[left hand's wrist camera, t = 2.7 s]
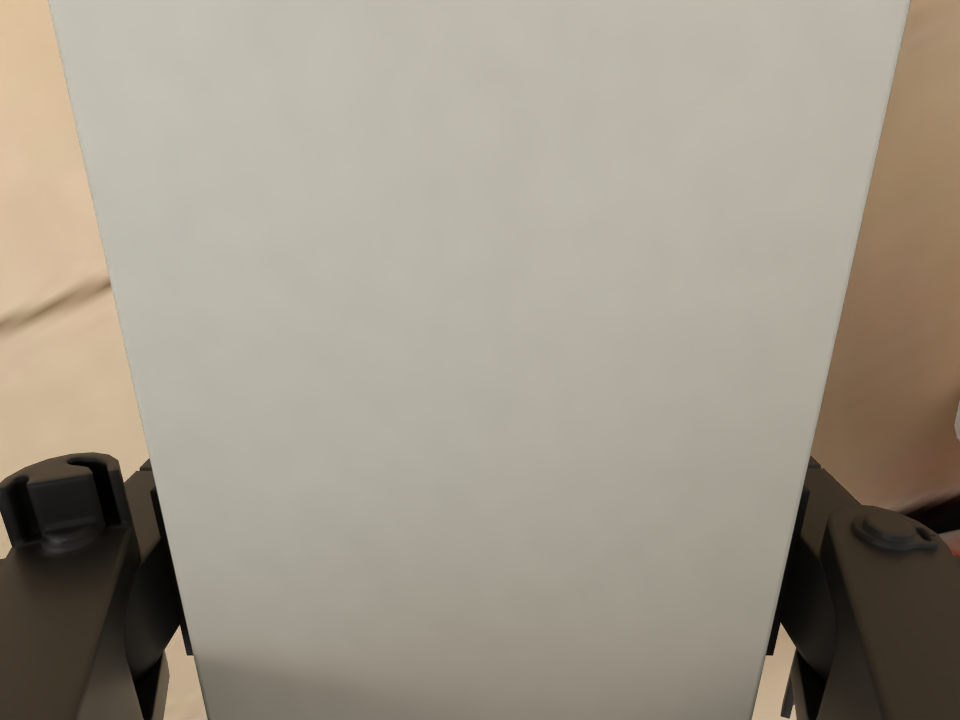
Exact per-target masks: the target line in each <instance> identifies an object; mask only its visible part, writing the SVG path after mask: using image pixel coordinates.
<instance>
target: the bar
mask: <svg viewBox="0 0 960 720" xmlns="http://www.w3.org/2000/svg"><path fill="white" fill-rule="evenodd" d="M48 2H49V7H50V11H51V16H52V20H53V25H54V29H55V34H56V38H57V43H58V47H59V52H60V56H61V61H62V65H63V70H64V74H65V79H66V83H67V88H68V92H69V97H70V101H71V106H72V110H73V115H74V119H75V124H76V128H77V133H78V137H79V142H80V146H81V151H82V155H83V160H84V164H85V169H86V173H87V178H88V182H89V187H90V191H91V196H92V200H93V205H94V209H95V214H96V218H97V223H98V227H99V232H100V236H101V241H102V245H103V250H104V254H105V259H106V263H107V268H108V272H109V277H110V281H111V286H112V290H113V295H114V299H115V304H116V308H117V313H118V317H119V322H120V326H121V331H122V335H123V340H124V344H125V349H126V353H127V358H128V362H129V367H130V371H131V376H132V380H133V385H134V389H135V394H136V398H137V403H138V407H139V412H140V416H141V421H142V425H143V430H144V434H145V439H146V443H147V448H148V452H149V457H150V461H151V466H152V470H153V475H154V479H155V484H156V488H157V493H158V497H159V502H160V506H161V511H162V515H163V520H164V524H165V529H166V533H167V538H168V542H169V547H170V551H171V556H172V560H173V565H174V569H175V574H176V578H177V583H178V587H179V592H180V596H181V601H182V605H183V610H184V614H185V619H186V623H187V628H188V632H189V637H190V641H191V646H192V650H193V655H194V659H195V664H196V668H197V673H198V677H199V682H200V686H201V691H202V695H203V700H204V704H205V709H206V713H207V718H208V720H751V719H752V715H753V710H754V706H755V701H756V697H757V692H758V688H759V683H760V679H761V674H762V670H763V665H764V661H765V656H766V652H767V647H768V643H769V638H770V634H771V629H772V625H773V620H774V615H775V611H776V606H777V602H778V597H779V593H780V588H781V584H782V579H783V575H784V570H785V566H786V561H787V557H788V552H789V548H790V543H791V539H792V534H793V530H794V525H795V521H796V516H797V512H798V507H799V503H800V498H801V494H802V489H803V485H804V480H805V476H806V471H807V467H808V462H809V458H810V453H811V449H812V444H813V439H814V435H815V430H816V426H817V421H818V417H819V412H820V408H821V403H822V399H823V394H824V390H825V385H826V381H827V376H828V372H829V367H830V363H831V358H832V354H833V349H834V345H835V340H836V336H837V331H838V327H839V322H840V318H841V313H842V309H843V304H844V300H845V295H846V291H847V286H848V282H849V277H850V273H851V268H852V263H853V259H854V254H855V250H856V245H857V241H858V236H859V232H860V227H861V223H862V218H863V214H864V209H865V205H866V200H867V196H868V191H869V187H870V182H871V178H872V173H873V169H874V164H875V160H876V155H877V151H878V146H879V142H880V137H881V133H882V128H883V124H884V119H885V115H886V110H887V106H888V101H889V96H890V92H891V87H892V83H893V78H894V74H895V69H896V65H897V60H898V56H899V51H900V47H901V42H902V38H903V33H904V29H905V24H906V20H907V15H908V11H909V6H910V2H911V0H48Z"/></svg>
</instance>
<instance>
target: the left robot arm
mask: <svg viewBox="0 0 960 720" xmlns="http://www.w3.org/2000/svg"><path fill="white" fill-rule="evenodd" d="M0 512H1V515H2V518H3V521H4V524H5V527H6V530H7V533H8V536H9V539H10V542H11V545H12V548H11V550H10V552H9V553H8V555H7V557H6V558H5V559H0V720H163V718H164V711H165V704H166V697H167V690H168V683H169V669H168V662H167V658H166V654H165V650H164V649H165V648H166V646H167V645H168V643H169V641H170V640H171V638H172V636H173V635H174V633H175V632H176V630H177V628H178V627H179V625H180V627H181V631H182V635H183V640H184V644H185V649H186V653H187V655H193V650H192V646H191V641H190V637H189V632H188V628H187V623H186V619H185V614H184V610H183V605H182V601H181V596H180V592H179V587H178V583H177V578H176V574H175V569H174V565H173V560H172V556H171V551H170V547H169V542H168V538H167V533H166V529H165V524H164V520H163V515H162V511H161V506H160V502H159V497H158V493H157V488H156V484H155V479H154V475H153V470H152V466H151V461H150V458H149V459H148V460H147V461H146V462H145V463H144V464H143V465H142V466H141V467H140V471H136V472H135V473H134V474H133V475H132V476H131V477H130V478H129V479H128V480H127V481H126V482H125V483H124V482H123V478H122V474H121V470H120V466H119V462H118V460H117V459H115V458H113V457H112V456H110V455H108V454H101V453H94V452H92V453H77V454H69V455H64V456H60V457H55V458H51V459H47V460H44V461H41V462H39V463H36V464H33V465H30V466H28V467H25V468H23V469H21V470H19V471H18V472H16V473H14V474H12V475H10V476H8V477H7V478H5V479H4V480H3V481H2V482H1V483H0ZM780 622H781V623H782V625H783V627H784V628H785V630H786V632H787V633H788V635H789V636H790V638H791V640H792V641H793V643H794V645H795V646H796V650H795V654H794V658H793V662H792V667H791V671H790V675H789V679H788V683H787V687H786V691H785V695H784V699H783V704H782V710H781V716H782V717H785V718H789V719H790V715H791V711H792V707H793V705H794V704H795V709H796V716H797V720H960V556H955V555H953V554H952V552H951V550H950V549H949V547H948V546H947V544H946V543H945V542H944V541H943V540H942V539H941V538H940V537H939V536H938V534H937V533H935V532H934V531H932V530H931V529H929V528H928V527H926V526H925V525H923V524H921V523H920V522H918V521H916V520H914V519H911V518H909V517H907V516H904V515H902V514H900V513H897V512H894V511H890V510H886V509H883V508H879V507H875V506H865V505H861V504H860V503H859V502H858V501H857V500H856V499H855V498H854V497H853V496H852V495H851V494H850V493H849V492H847V491H846V490H845V489H844V488H843V487H842V486H841V485H840V484H839V483H838V482H837V481H836V480H835V479H834V478H833V477H832V476H831V475H830V474H829V473H828V472H827V471H826V470H825V469H821V465H820V464H819V463H818V462H817V461H816V460H815V459H813V458H812V457H811V456H810V458H809V462H808V467H807V471H806V476H805V480H804V485H803V489H802V494H801V498H800V503H799V507H798V512H797V516H796V521H795V525H794V530H793V534H792V539H791V543H790V548H789V552H788V557H787V561H786V566H785V570H784V575H783V579H782V584H781V588H780V593H779V597H778V602H777V606H776V611H775V615H774V620H773V625H772V629H771V634H770V638H769V643H768V647H767V652H766V655H773V653H774V649H775V644H776V640H777V635H778V631H779V627H780Z"/></svg>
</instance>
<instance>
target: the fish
mask: <svg viewBox="0 0 960 720" xmlns="http://www.w3.org/2000/svg"><path fill="white" fill-rule="evenodd" d="M954 426H955V432H956V437H957V438H958V440H959V441H960V400H959V405H958V410H957V414H956V418H955V423H954ZM938 536H939V537H940V538H941V539H942V540H943V541H944V542H945V543H946V544H947V546H948V547H949V549H950V550H951V552H952V554H953V555H955V556H960V530H955V531H949V532H944V533H938Z"/></svg>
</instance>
